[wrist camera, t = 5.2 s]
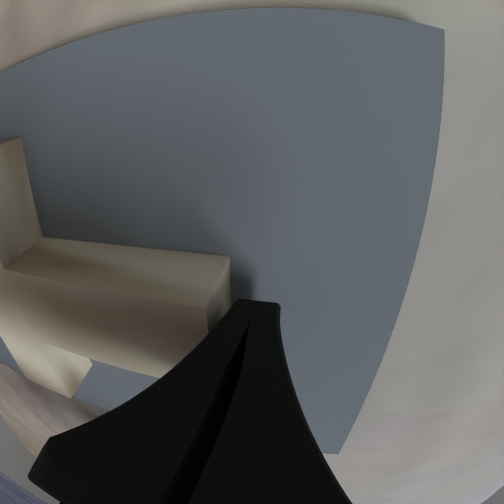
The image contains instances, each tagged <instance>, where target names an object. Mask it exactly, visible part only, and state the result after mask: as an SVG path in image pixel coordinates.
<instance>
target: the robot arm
mask: <svg viewBox="0 0 504 504" xmlns="http://www.w3.org/2000/svg"><path fill="white" fill-rule="evenodd" d="M280 313H281V306H280V305H279V304H278V303H276V302H266V301H257V300H248V299H240V298H239V299H238V300H236V301H235V302H234V304H233V305H232V306H231V308H230V309H229V310H228V311H227V313H226V314H225V315H224V316H223V317H222V319H221V320H220V321H219V322H218V323H217V324H216V326H215V327H214V328H213V329H212V330H211V331H210V332H209V333H208V334H207V335H206V336H205V338H204V339H203V340H202V341H201V342H200V343H199V344H198V345H197V346H196V347H195V348H194V349H193V350H192V351H191V352H190V353H189V354H187V355H186V356H185V357H184V358H183V359H182V360H181V361H180V362H179V363H178V364H177V365H176V366H174V367H173V368H172V369H171V370H170V371H168V372H167V373H166V374H165V375H164V376H162V377H161V378H160V379H158V380H157V381H156V382H154V383H153V384H152V385H150V386H149V387H148V388H146V389H145V390H143V391H142V392H140V393H139V394H137V395H136V396H134V397H133V398H131V399H130V400H128V401H127V402H125V403H123V404H122V405H120V406H118V407H116V408H114V409H112V410H111V411H109V412H107V413H105V414H103V415H101V416H99V417H97V418H96V419H94V420H92V421H89V422H87V423H85V424H83V425H80V426H78V427H76V428H73V429H71V430H68V431H66V432H63V433H61V434H58V435H55V436H52V437H50V438H49V439H48V441H47V442H46V444H45V445H44V447H43V448H42V450H41V452H40V453H39V455H38V457H37V459H36V461H35V463H34V464H33V466H32V468H31V470H30V472H29V474H28V478H29V480H30V481H31V482H33V483H34V484H35V485H37V486H38V487H39V488H41V489H42V490H44V491H45V492H47V493H48V494H49V495H51V496H52V497H54V498H55V499H57V500H58V501H60V504H352V503H351V501H350V500H349V498H348V497H347V495H346V494H345V492H344V491H343V489H342V487H341V486H340V484H339V483H338V481H337V479H336V478H335V476H334V474H333V472H332V471H331V469H330V467H329V465H328V464H327V462H326V460H325V458H324V456H323V454H322V452H321V450H320V448H319V446H318V444H317V442H316V440H315V438H314V436H313V434H312V432H311V430H310V428H309V425H308V423H307V421H306V418H305V416H304V413H303V411H302V408H301V406H300V403H299V400H298V398H297V395H296V392H295V389H294V386H293V383H292V379H291V376H290V372H289V369H288V365H287V361H286V356H285V352H284V347H283V342H282V336H281V327H280ZM0 504H47V503H46V502H44V501H42V500H41V499H39V498H38V497H36V496H35V495H33V494H31V493H30V492H28V491H27V490H26V489H24V488H23V487H21V486H20V485H18V484H17V483H16V482H14V481H13V480H12V479H10V478H9V477H7V476H6V475H5V474H4V473H2V472H1V471H0Z"/></svg>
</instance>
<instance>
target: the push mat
mask: <svg viewBox="0 0 504 504" xmlns="http://www.w3.org/2000/svg"><path fill="white" fill-rule="evenodd" d="M443 82H444V29H440V28H436V27H432V26H428V25H424V24H420V23H416V22H411V21H407V20H402V19H397V18H391V17H386V16H380V15H373V14H366V13H359V12H350V11H341V10H330V9H315V8H244V9H229V10H218V11H208V12H200V13H192V14H185V15H178V16H172V17H167V18H161V19H156V20H151V21H146V22H141V23H137V24H133V25H129V26H124V27H121V28H117V29H113V30H109V31H106V32H102V33H99V34H95V35H92V36H89V37H86V38H83V39H80V40H77V41H74V42H71V43H68V44H65V45H63V46H60V47H57V48H55V49H52V50H49V51H47V52H44V53H42V54H40V55H37V56H35V57H32V58H30V59H28V60H26V61H23V62H21V63H19V64H17V65H15V66H13V67H11V68H9V69H6V70H4V71H2V72H0V142H1V141H5V140H9V139H14V138H18V137H22V141H23V148H24V154H25V160H26V166H27V171H28V176H29V181H30V186H31V191H32V195H33V200H34V204H35V208H36V212H37V216H38V220H39V224H40V227H41V231H42V235H43V237H47V238H56V239H66V240H75V241H85V242H94V243H104V244H113V245H123V246H133V247H142V248H152V249H162V250H172V251H182V252H192V253H202V254H212V255H222V256H229V259H230V284H231V306H232V305H233V304H234V302H235V301H236V300H238V299H239V298H240V299H248V300H257V301H266V302H276V303H278V304H279V305H280V306H281V313H280V327H281V336H282V342H283V347H284V352H285V356H286V361H287V365H288V369H289V372H290V376H291V379H292V383H293V386H294V389H295V392H296V395H297V398H298V400H299V403H300V406H301V408H302V411H303V413H304V416H305V418H306V421H307V423H308V425H309V428H310V430H311V432H312V434H313V436H314V438H315V440H316V442H317V444H318V446H319V448H320V450H321V452H322V453H326V454H339V452H340V450H341V448H342V446H343V444H344V442H345V440H346V438H347V436H348V434H349V432H350V430H351V428H352V426H353V424H354V422H355V420H356V418H357V416H358V414H359V412H360V410H361V407H362V405H363V403H364V401H365V399H366V396H367V394H368V392H369V390H370V387H371V385H372V383H373V380H374V378H375V376H376V373H377V371H378V368H379V366H380V363H381V361H382V358H383V356H384V353H385V350H386V348H387V345H388V342H389V340H390V337H391V334H392V331H393V329H394V326H395V323H396V320H397V317H398V314H399V311H400V308H401V305H402V302H403V299H404V295H405V292H406V289H407V286H408V282H409V279H410V275H411V272H412V268H413V265H414V261H415V257H416V253H417V250H418V246H419V242H420V238H421V233H422V229H423V225H424V220H425V216H426V211H427V206H428V201H429V196H430V191H431V185H432V180H433V174H434V168H435V161H436V154H437V147H438V139H439V131H440V122H441V111H442V99H443ZM90 361H91V363H92V367H91V368H90V370H89V371H88V373H87V374H86V376H85V377H84V379H83V380H82V382H81V384H80V385H79V387H78V388H77V390H76V391H75V393H74V395H73V396H72V397H74V398H76V399H79V400H81V401H84V402H86V403H89V404H92V405H94V406H97V407H100V408H102V409H105V410H108V411H111V410H112V409H114V408H116V407H118V406H120V405H122V404H123V403H125V402H127V401H128V400H130V399H131V398H133V397H134V396H136V395H137V394H139V393H140V392H142V391H143V390H145V389H146V388H148V387H149V386H150V385H152V384H153V383H154V382H156V381H157V380H158V379H160V378H157V377H153V376H149V375H145V374H141V373H137V372H134V371H130V370H126V369H123V368H119V367H116V366H112V365H109V364H106V363H102V362H99V361H96V360H93V359H90ZM0 363H2V364H4V365H6V366H8V367H10V368H12V369H13V370H15V371H17V372H19V373H21V374H23V375H24V373H23V372H22V370H21V369H20V367H19V366H18V364H17V363H16V361H15V359H14V358H13V356H12V354H11V353H10V351H9V350H8V348H7V346H6V344H5V343H4V341H3V339H2V337H1V336H0Z"/></svg>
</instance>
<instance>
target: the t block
mask: <svg viewBox="0 0 504 504" xmlns="http://www.w3.org/2000/svg"><path fill="white" fill-rule="evenodd" d="M230 308H231V284H230V259H229V256H222V255H212V254H202V253H192V252H182V251H172V250H162V249H152V248H142V247H133V246H123V245H113V244H104V243H94V242H85V241H75V240H66V239H56V238H47V237H43V235H42V231H41V227H40V224H39V220H38V216H37V212H36V208H35V204H34V200H33V195H32V191H31V186H30V181H29V176H28V171H27V166H26V160H25V154H24V148H23V141H22V137H18V138H14V139H9V140H5V141H1V142H0V336H1V337H2V339H3V341H4V343H5V344H6V346H7V348H8V350H9V351H10V353H11V354H12V356H13V358H14V359H15V361H16V363H17V364H18V366H19V367H20V369H21V370H22V372H23V373H24V375H25V376H26V378H27V379H29V380H31V381H33V382H35V383H37V384H39V385H41V386H43V387H46V388H48V389H50V390H52V391H54V392H56V393H59V394H61V395H63V396H66V397H68V398H70V399H71V398H72V396H73V395H74V393H75V391H76V390H77V388H78V387H79V385H80V384H81V382H82V380H83V379H84V377H85V376H86V374H87V373H88V371H89V370H90V368H91V367H92V363H91V361H90V359H93V360H96V361H99V362H102V363H106V364H109V365H112V366H116V367H119V368H123V369H126V370H130V371H134V372H137V373H141V374H145V375H149V376H153V377H157V378H161V377H162V376H164V375H165V374H166V373H167V372H168V371H170V370H171V369H172V368H173V367H174V366H176V365H177V364H178V363H179V362H180V361H181V360H182V359H183V358H184V357H185V356H186V355H187V354H189V353H190V352H191V351H192V350H193V349H194V348H195V347H196V346H197V345H198V344H199V343H200V342H201V341H202V340H203V339H204V338H205V336H206V335H207V334H208V333H209V332H210V331H211V330H212V329H213V328H214V327H215V326H216V324H217V323H218V322H219V321H220V320H221V319H222V317H223V316H224V315H225V314H226V313H227V311H228V310H229V309H230Z"/></svg>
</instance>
